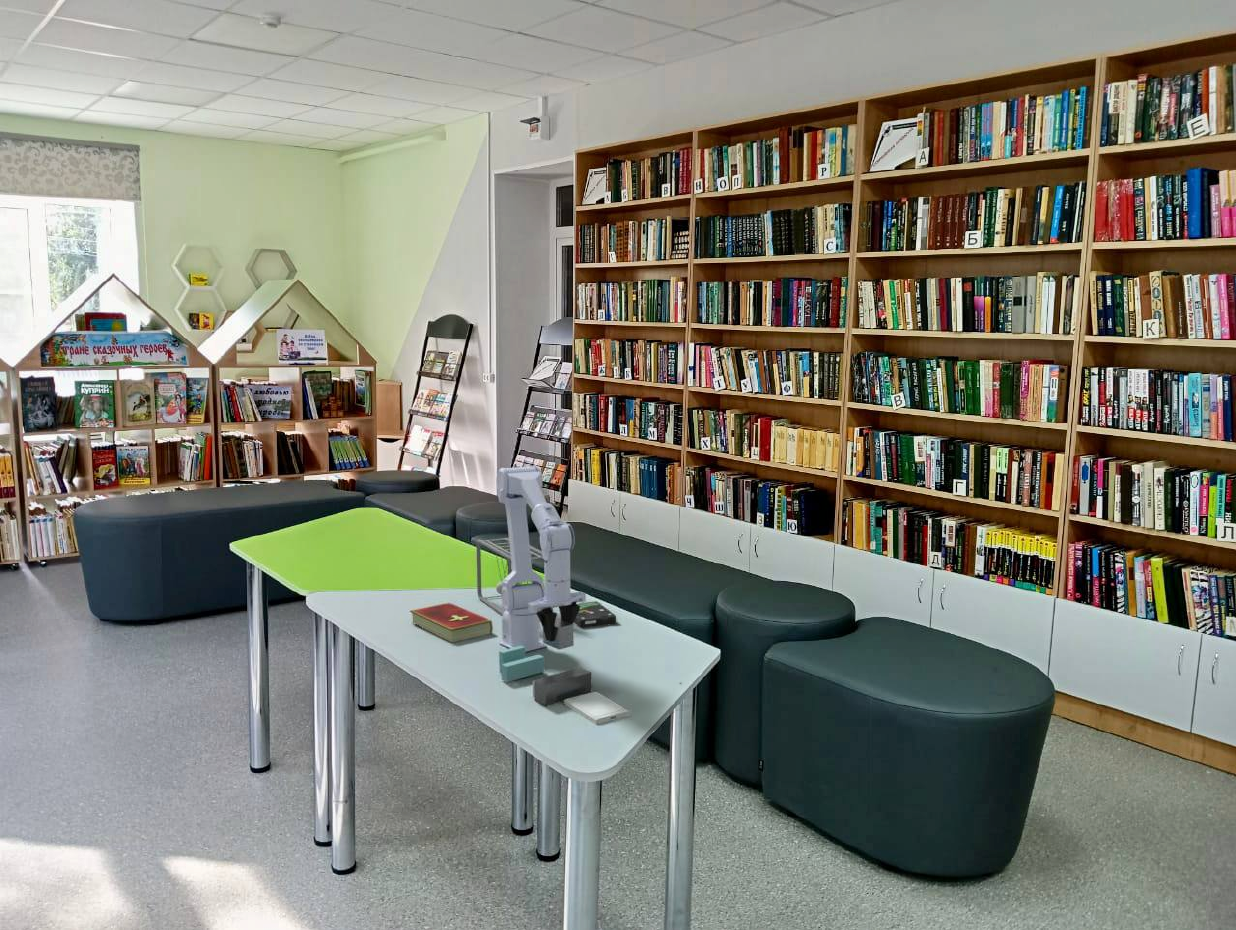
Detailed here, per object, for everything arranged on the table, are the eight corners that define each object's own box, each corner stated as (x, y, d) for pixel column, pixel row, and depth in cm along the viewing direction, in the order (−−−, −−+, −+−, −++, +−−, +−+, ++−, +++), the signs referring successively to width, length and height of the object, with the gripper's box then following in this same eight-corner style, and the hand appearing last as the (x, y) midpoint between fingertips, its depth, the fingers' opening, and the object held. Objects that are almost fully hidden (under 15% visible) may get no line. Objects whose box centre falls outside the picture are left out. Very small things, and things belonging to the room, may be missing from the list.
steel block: (543, 642, 218) (542, 621, 217) (557, 639, 220) (557, 617, 220) (559, 649, 213) (558, 627, 213) (573, 645, 216) (573, 624, 215)
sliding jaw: (492, 674, 217) (491, 653, 216) (529, 664, 223) (528, 643, 223) (506, 682, 212) (506, 660, 212) (544, 671, 219) (543, 650, 218)
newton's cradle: (477, 598, 278) (475, 538, 276) (511, 594, 283) (510, 534, 281) (517, 627, 252) (516, 560, 250) (553, 621, 257) (553, 556, 254)
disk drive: (617, 626, 255) (596, 610, 269) (617, 615, 255) (596, 600, 268) (580, 630, 251) (561, 614, 265) (580, 620, 251) (561, 604, 264)
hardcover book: (450, 616, 263) (450, 601, 262) (492, 634, 247) (492, 619, 246) (410, 624, 255) (410, 609, 255) (451, 644, 239) (451, 628, 239)
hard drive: (563, 699, 201) (595, 719, 191) (597, 691, 205) (630, 709, 195) (563, 706, 201) (596, 727, 191) (597, 698, 206) (630, 717, 195)
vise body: (529, 697, 204) (528, 677, 204) (574, 684, 212) (574, 664, 211) (545, 706, 200) (545, 685, 199) (591, 692, 207) (591, 672, 207)
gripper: (541, 588, 207) (542, 649, 209) (594, 577, 216) (594, 635, 218) (522, 581, 212) (523, 641, 214) (574, 571, 222) (575, 628, 224)
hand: (558, 638), depth 217 cm, fingers closed on steel block, 4 cm apart
